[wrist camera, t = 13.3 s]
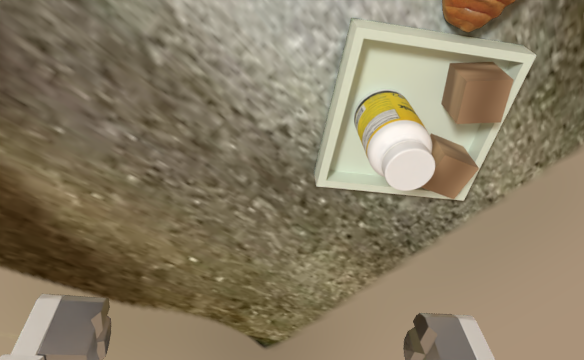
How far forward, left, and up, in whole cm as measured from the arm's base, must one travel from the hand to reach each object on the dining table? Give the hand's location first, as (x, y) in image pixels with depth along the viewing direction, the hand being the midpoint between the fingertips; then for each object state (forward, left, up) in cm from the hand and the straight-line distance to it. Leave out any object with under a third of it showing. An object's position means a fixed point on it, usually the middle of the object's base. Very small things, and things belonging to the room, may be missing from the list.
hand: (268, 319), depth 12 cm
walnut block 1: (+20, -4, -30) cm, 36 cm away
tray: (+16, -8, -31) cm, 36 cm away
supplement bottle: (+13, -8, -30) cm, 34 cm away
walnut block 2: (+20, -12, -30) cm, 38 cm away
